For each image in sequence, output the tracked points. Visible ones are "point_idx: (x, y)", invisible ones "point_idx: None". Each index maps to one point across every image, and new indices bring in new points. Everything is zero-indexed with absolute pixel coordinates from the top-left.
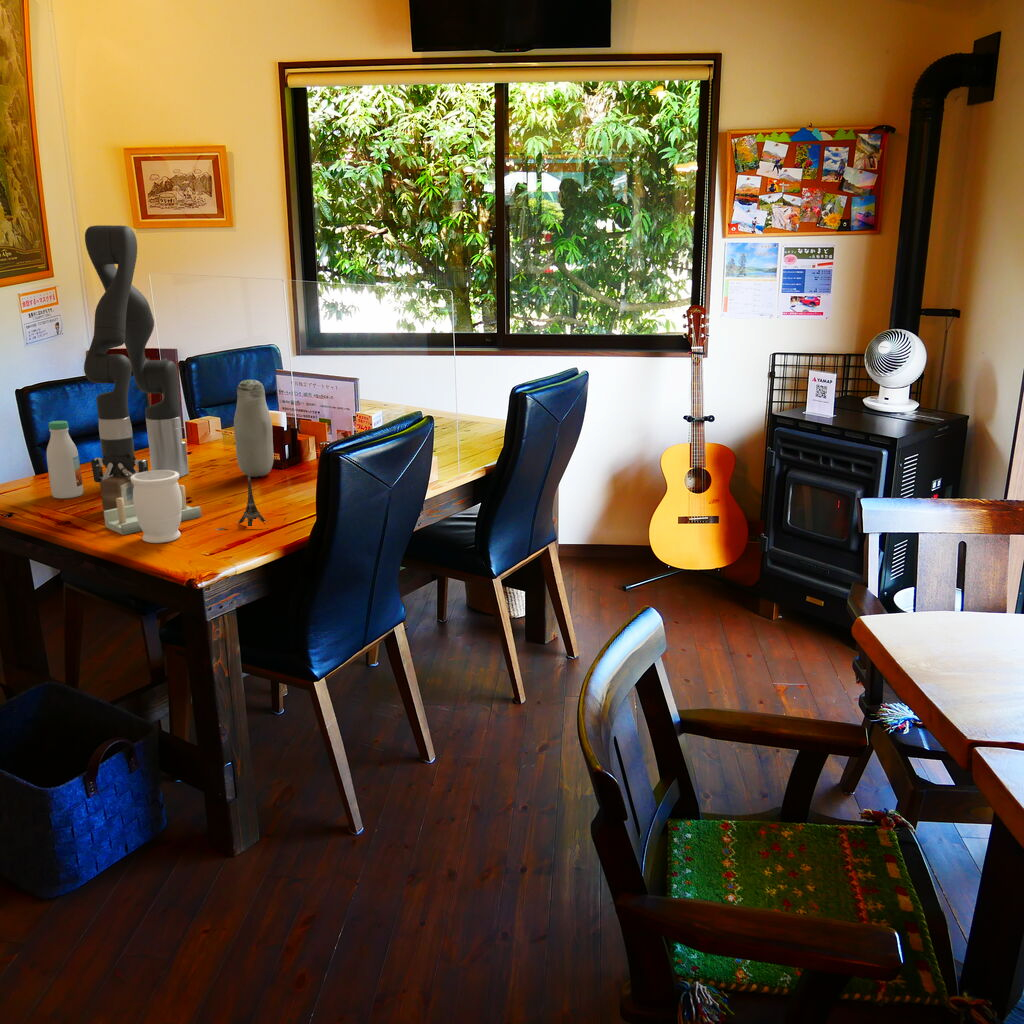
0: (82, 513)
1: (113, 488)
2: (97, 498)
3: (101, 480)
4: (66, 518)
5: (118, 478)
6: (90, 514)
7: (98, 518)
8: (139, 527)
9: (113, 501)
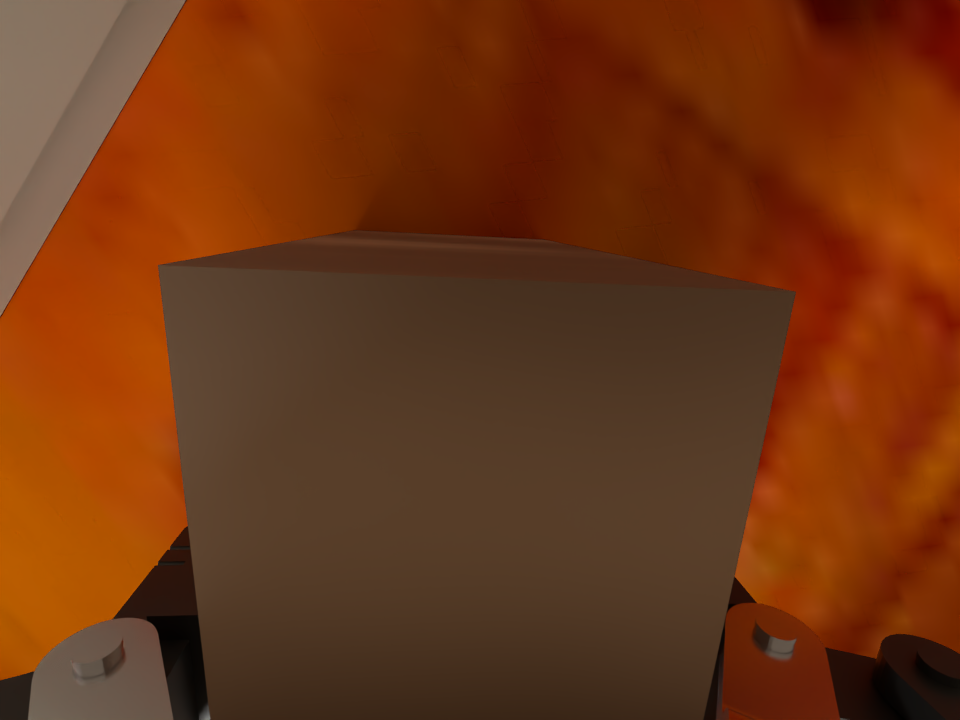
0: None
1: (362, 255)
2: None
3: (841, 692)
4: (883, 131)
5: (393, 678)
6: None
7: (567, 158)
8: None
9: (415, 240)
